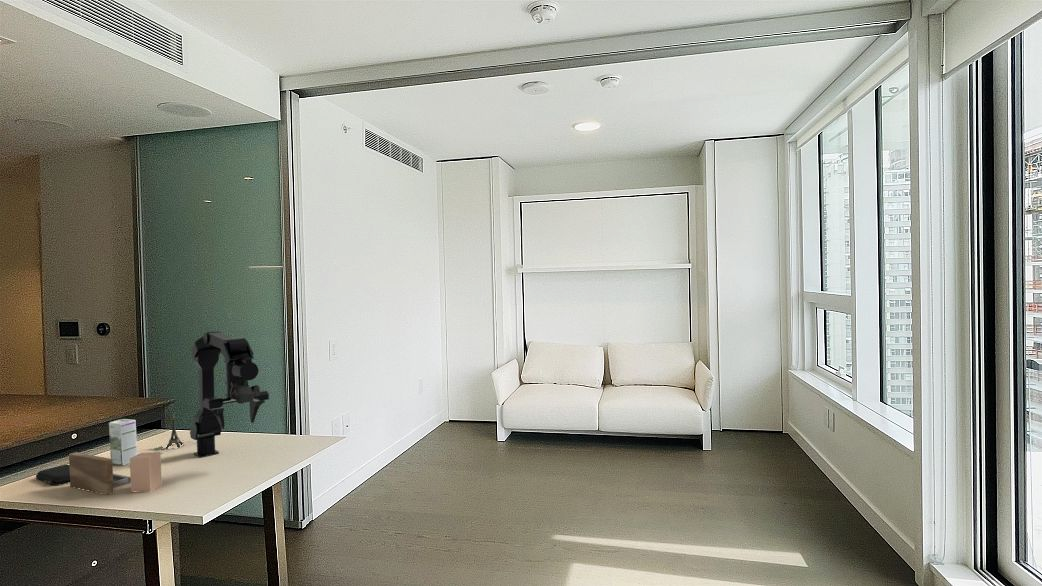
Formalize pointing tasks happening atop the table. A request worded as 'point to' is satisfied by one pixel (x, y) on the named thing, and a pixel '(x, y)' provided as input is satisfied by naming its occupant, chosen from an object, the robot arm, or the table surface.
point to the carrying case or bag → (55, 475)
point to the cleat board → (94, 473)
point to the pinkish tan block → (145, 471)
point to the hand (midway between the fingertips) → (237, 425)
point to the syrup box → (122, 441)
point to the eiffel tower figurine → (172, 438)
